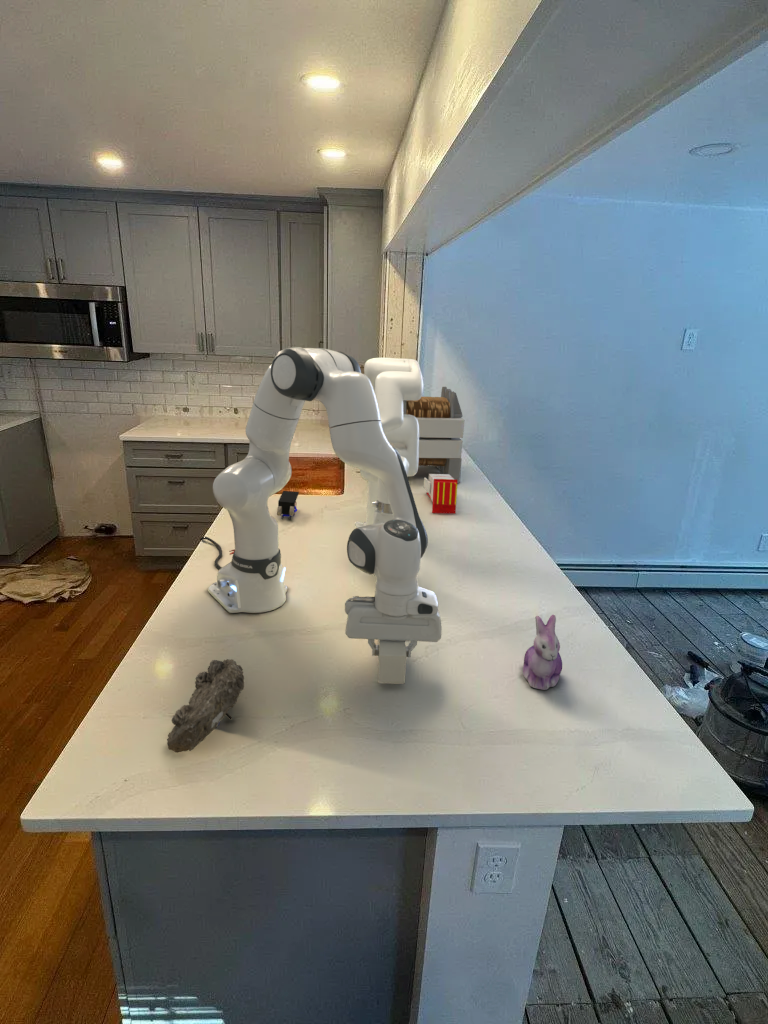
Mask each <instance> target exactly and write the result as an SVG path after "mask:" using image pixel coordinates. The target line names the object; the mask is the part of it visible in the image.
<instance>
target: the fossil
mask: <svg viewBox="0 0 768 1024" xmlns="http://www.w3.org/2000/svg"><path fill="white" fill-rule="evenodd" d="M243 670H244V669H243V667H242V665H240V664H237V662H236V661H235V660H234V659H232V658H231V659H227V658H226V659H224V660H223V661H222V660H217V659H212V660H211V661H210V663H209V665H208V666H207V671H201V672H199V673H198V674H197V675H196V676H195V680H194V684H195V685H194V687H195V689H194V690H193V693H192V694H191V697H190V698H189V700H188V704H184V705H182V706H181V707H180V709H177V710H176V711H175V713H174V715H173V716H172V718H171V723H172V724H173V727H172V730H171V731H170V732H168V734H167V738H166V741H167V742H166V745H167V749H168V750H169V751H173V752H174V753H176V754H178V753H182V752H188V751H189V752H192V751H193V750H195V748H196V747H197V746H199V744H200V743H201V742H203V741H204V740H205V739H206V738H207V737H208V736H209V735H210V734H211V733H212V732H214V730H215V729H217V727H218V726H219V724H220V722H221V721H222V720H223V719H224V718H225V716H226V717H227V719H229V720H233V717H232V715H230V714H229V710H230V709H231V708H234V706H235V704H236V703H237V702H238V699H239V697H240V695H241V693H242V691H243V690H245V689H244V688H245V675H244V671H243Z"/></svg>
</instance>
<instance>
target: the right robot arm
mask: <svg viewBox="0 0 768 1024" xmlns="http://www.w3.org/2000/svg"><path fill="white" fill-rule="evenodd" d="M363 372H364V373H363V374H364V375H366V376H367V377H368V378H369V380H370V382H371V384H372V387H373V390H374V393H375V396H376V400H377V403H378V407H379V412H380V418H381V424H382V428H383V431H384V434H385V436H386V438H387V440H388V442H389V443H402V444H404V445H405V448H395V449H396V450H397V451H398V452H399V454H400V456H401V459H402V461H403V464H404V467H405V471H406V474H407V477H408V478H409V477H414V476H415V475H417V473H418V470H419V466H418V465H419V423H418V420H417V418H416V417H415V416H413V415H406V414H403V400H419V399H420V398H421V397H423V394H424V377H423V373H422V370H421V366H420V364H419V361H418V360H416V359H414V358H402V357H401V358H399V357H398V358H397V357H373V358H369V359H367V360H366V361H365V363H364V367H363ZM359 474H360V477H361V478H362V479H363V480H364V481H366V482H367V484H366V486H367V491H366V519H365V520H366V521H364V522H362V521H355V522H354V527H355V529H356V528H359V527H362V526H366V525H371V524H378V523H383V522H387V521H390V520H393V513H392V509H391V506H390V503H389V499H388V496H387V493H386V489H385V486H384V484H383V482H382V481H381V480H380V479H379V478H378V477H377V476H376V475H374V474H372V473H370V472H367V471H364V470H360V469H359Z"/></svg>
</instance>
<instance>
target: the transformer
mask: <svg viewBox="0 0 768 1024" xmlns="http://www.w3.org/2000/svg"><path fill="white" fill-rule="evenodd" d="M440 393H441V394H440V396H422V397H421V398H420V399H419V400H403V414H406V415H413V416H415V417H416V418H417V420H418V423H419V465H418V467H436V468H437V470H438V469H439V473H440V474H449V475H450V476H451V477H452V478H453V479H455V480H457V484H459V483H461V472H462V461H463V460H462V453H463V442H464V441H463V440H462V439H463V438H464V431H465V430H464V429H465V419H464V418H463V411H462V408H461V405H460V402H459V398H458V395H457V392H455V391H453V390H452V389H451V388H447V386H442V387H441V392H440ZM390 445H391V446H392V447H394V448H405V445H404V444H402V443H390Z"/></svg>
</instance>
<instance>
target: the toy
mask: <svg viewBox="0 0 768 1024" xmlns="http://www.w3.org/2000/svg"><path fill="white" fill-rule="evenodd" d="M423 489H424V490H425V491H426V495H427V496H428V498H430V500H431V501H432V507H431V513H432V514H449V515H450V514H451V515H452V514H456V511H457V510H456V509H457V497H458V483H457V480H455V479H453V478H452V477H451V476H450V475H449V474H441V473H428V478H427V477H424V478H423Z"/></svg>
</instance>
